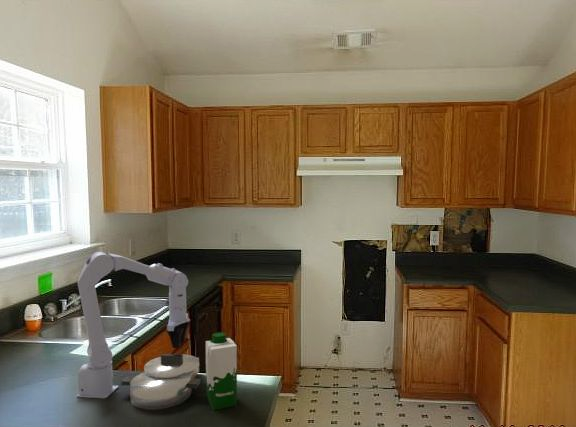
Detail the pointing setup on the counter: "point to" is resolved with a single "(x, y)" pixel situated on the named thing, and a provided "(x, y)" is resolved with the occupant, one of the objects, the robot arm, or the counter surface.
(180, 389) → the cooker pot
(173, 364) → the cooker lid
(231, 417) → the counter surface
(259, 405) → the counter surface
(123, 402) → the counter surface
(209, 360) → the milk carton
